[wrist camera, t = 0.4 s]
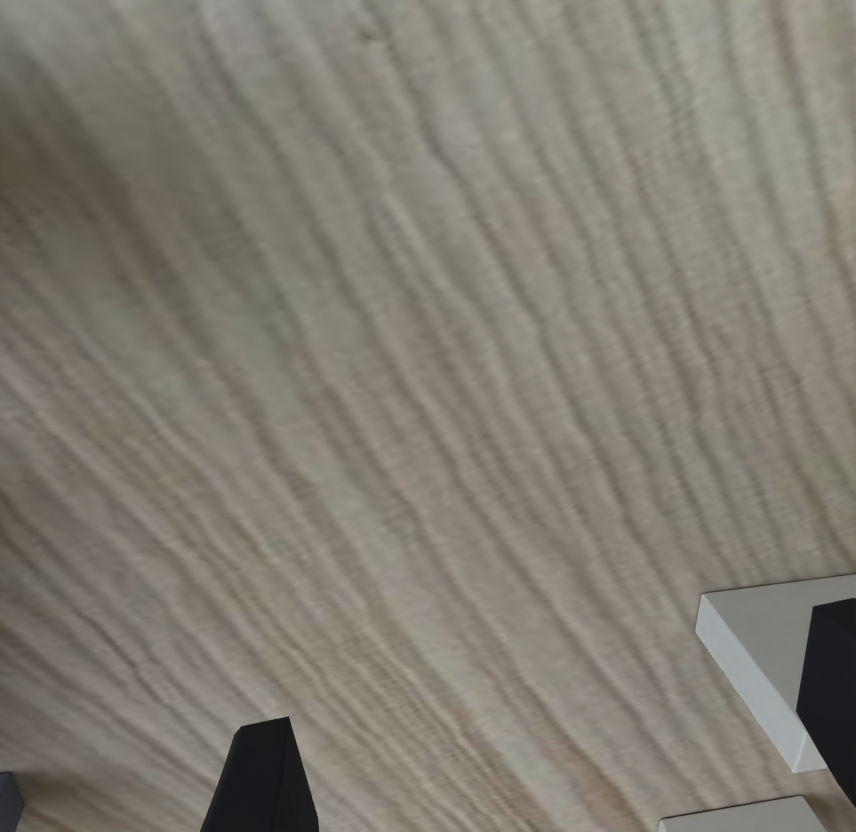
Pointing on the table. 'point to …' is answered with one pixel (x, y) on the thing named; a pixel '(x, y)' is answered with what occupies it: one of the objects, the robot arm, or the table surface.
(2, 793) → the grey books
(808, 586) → the cream blocks
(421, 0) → the table surface
